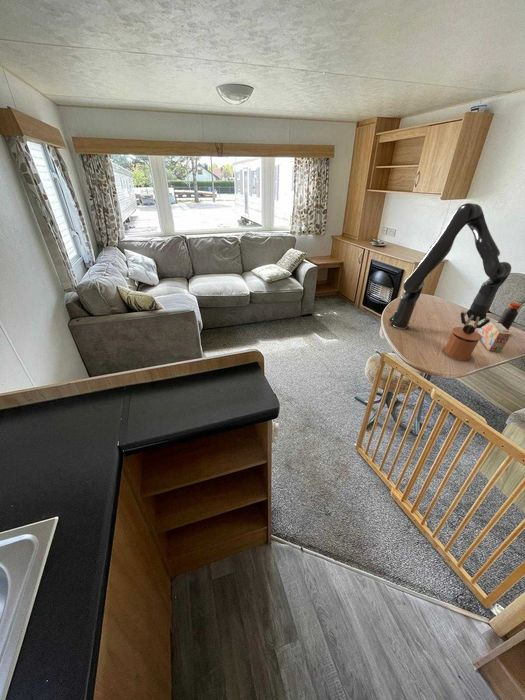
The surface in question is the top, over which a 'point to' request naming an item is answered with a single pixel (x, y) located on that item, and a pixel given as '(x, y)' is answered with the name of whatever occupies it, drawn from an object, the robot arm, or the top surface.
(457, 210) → the robot arm
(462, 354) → the pot
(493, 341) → the colourful patterned box
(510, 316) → the bottle
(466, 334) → the lid
